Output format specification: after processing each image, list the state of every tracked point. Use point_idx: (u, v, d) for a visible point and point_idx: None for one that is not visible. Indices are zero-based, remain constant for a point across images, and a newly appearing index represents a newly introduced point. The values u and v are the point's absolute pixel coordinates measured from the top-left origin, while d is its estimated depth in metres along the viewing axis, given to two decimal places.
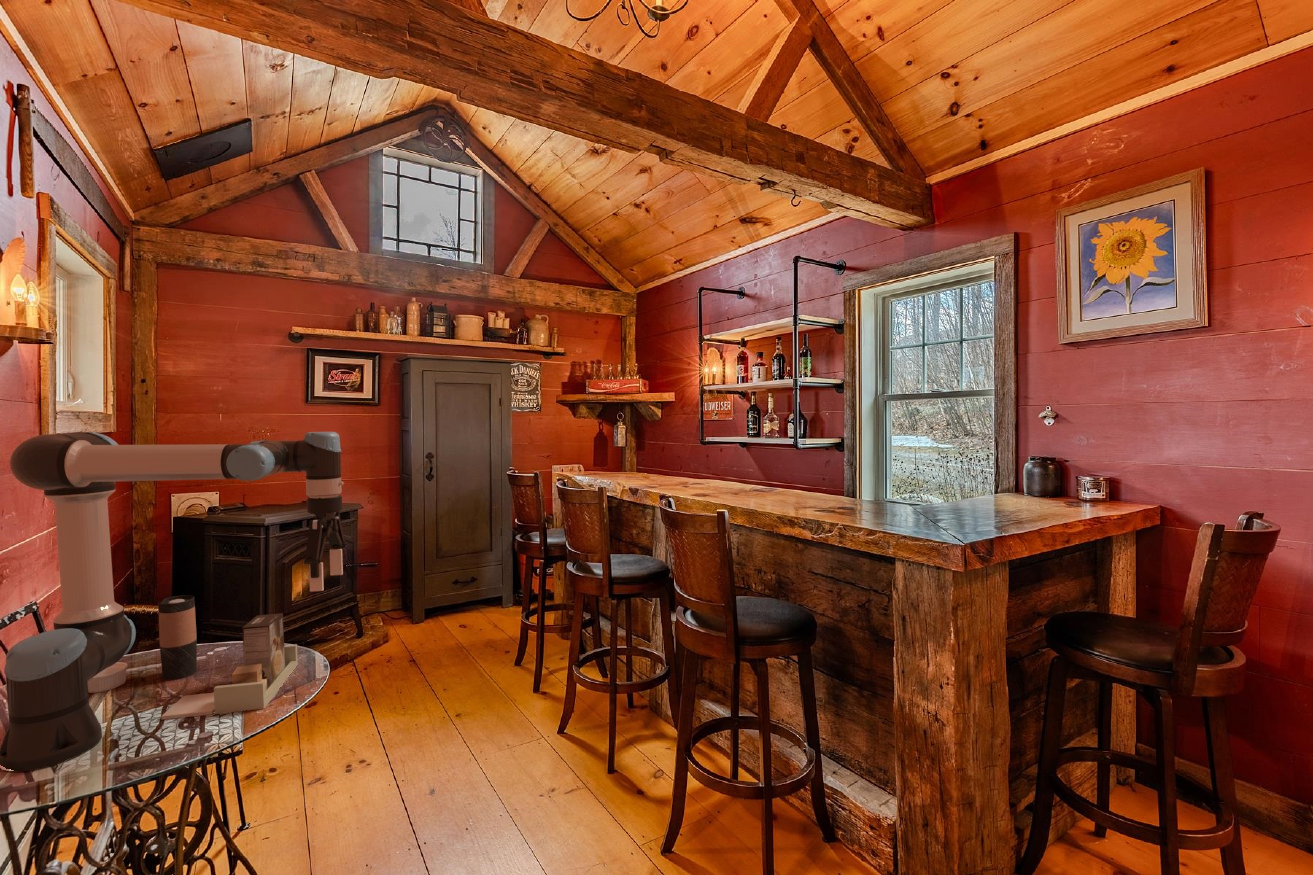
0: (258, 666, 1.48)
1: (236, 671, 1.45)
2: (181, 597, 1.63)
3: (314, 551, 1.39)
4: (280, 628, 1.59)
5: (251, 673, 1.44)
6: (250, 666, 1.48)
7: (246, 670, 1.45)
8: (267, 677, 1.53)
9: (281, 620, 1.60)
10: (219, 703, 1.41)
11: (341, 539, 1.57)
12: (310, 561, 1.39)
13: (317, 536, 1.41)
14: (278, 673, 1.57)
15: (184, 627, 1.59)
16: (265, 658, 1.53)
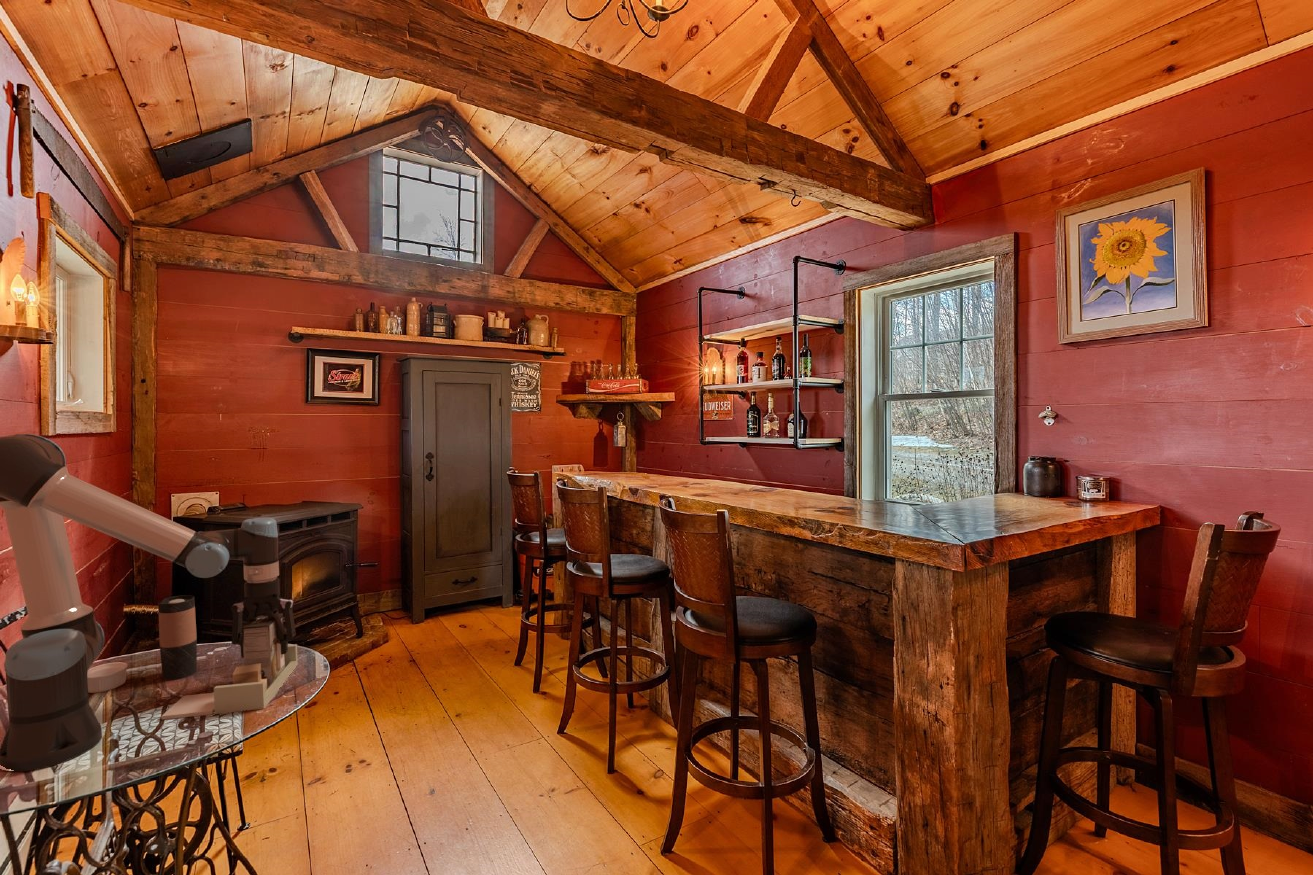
0: (258, 666, 1.48)
1: (236, 671, 1.45)
2: (181, 597, 1.63)
3: None
4: None
5: (252, 673, 1.45)
6: (249, 666, 1.48)
7: (246, 670, 1.45)
8: (267, 677, 1.53)
9: (281, 620, 1.60)
10: (219, 703, 1.41)
11: (287, 632, 1.57)
12: None
13: None
14: (278, 673, 1.57)
15: (184, 627, 1.59)
16: (265, 658, 1.53)
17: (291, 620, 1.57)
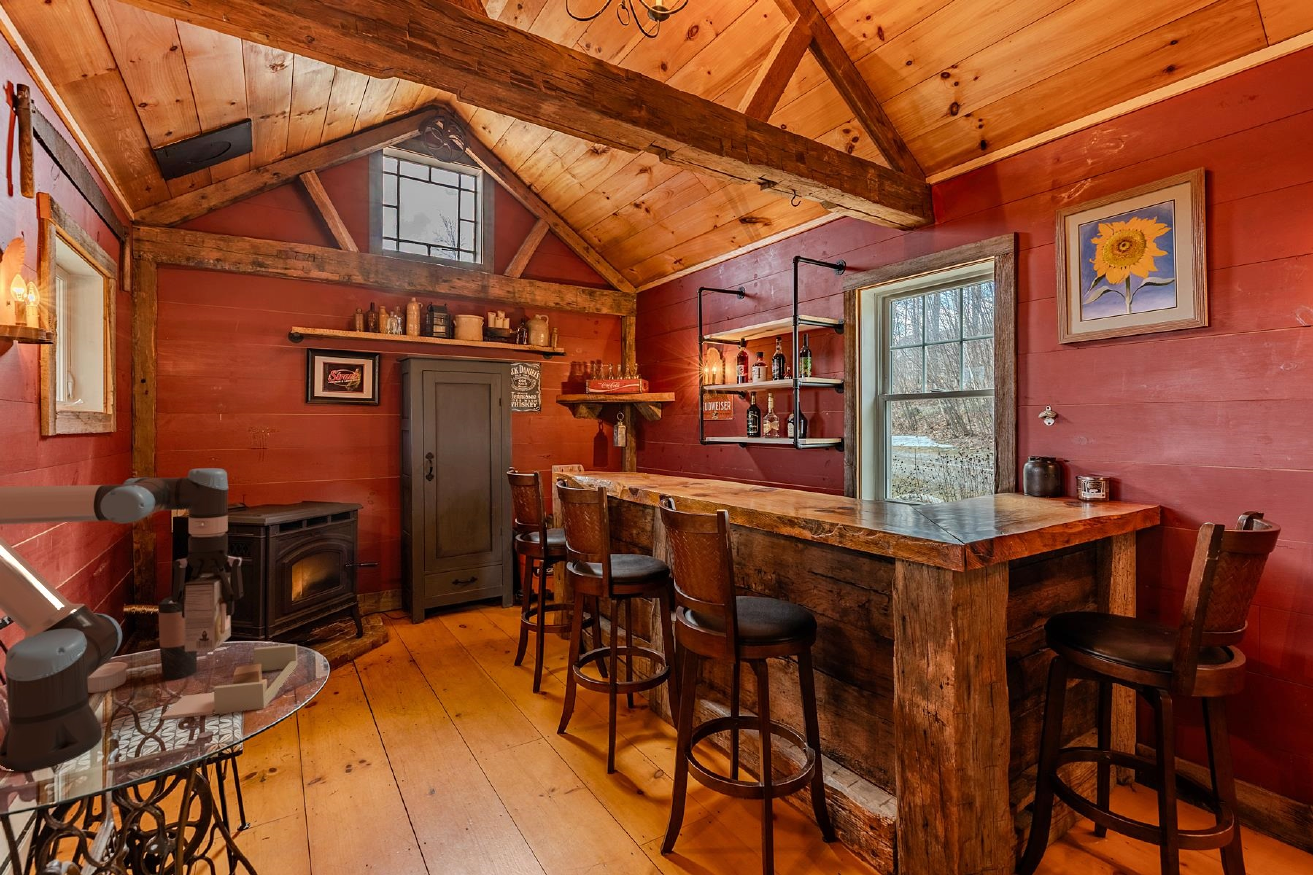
0: (258, 666, 1.48)
1: (237, 671, 1.45)
2: None
3: None
4: None
5: (253, 673, 1.45)
6: (250, 666, 1.48)
7: (247, 670, 1.45)
8: (209, 639, 1.42)
9: (228, 579, 1.49)
10: (219, 703, 1.41)
11: None
12: None
13: None
14: (222, 636, 1.46)
15: (184, 627, 1.59)
16: (208, 617, 1.42)
17: (239, 579, 1.47)
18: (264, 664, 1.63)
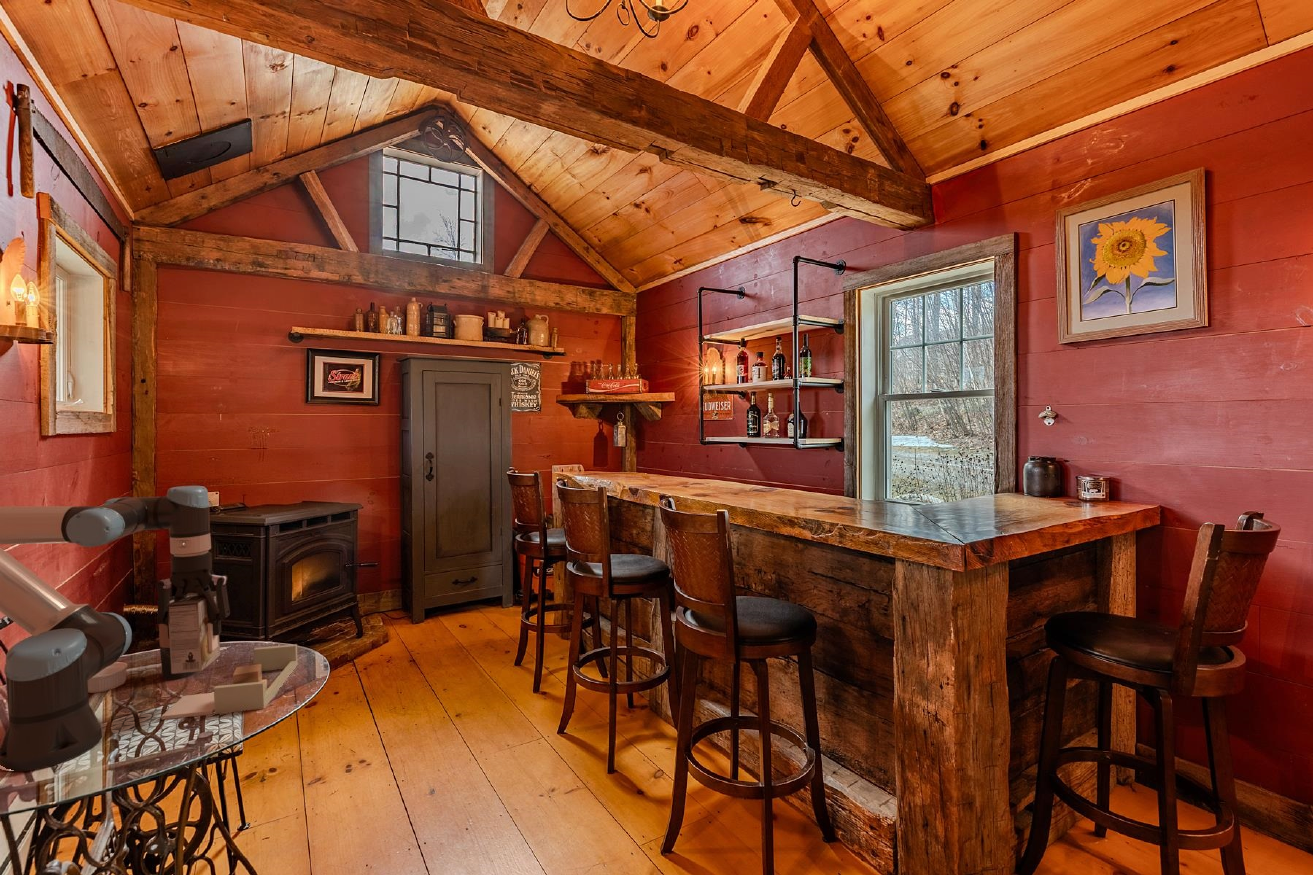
0: (258, 666, 1.48)
1: (236, 671, 1.45)
2: None
3: None
4: None
5: (252, 673, 1.45)
6: (250, 666, 1.47)
7: (247, 670, 1.45)
8: (196, 660, 1.39)
9: (214, 598, 1.46)
10: (219, 703, 1.41)
11: None
12: None
13: None
14: (210, 656, 1.44)
15: None
16: (193, 638, 1.39)
17: (224, 598, 1.44)
18: (264, 664, 1.63)
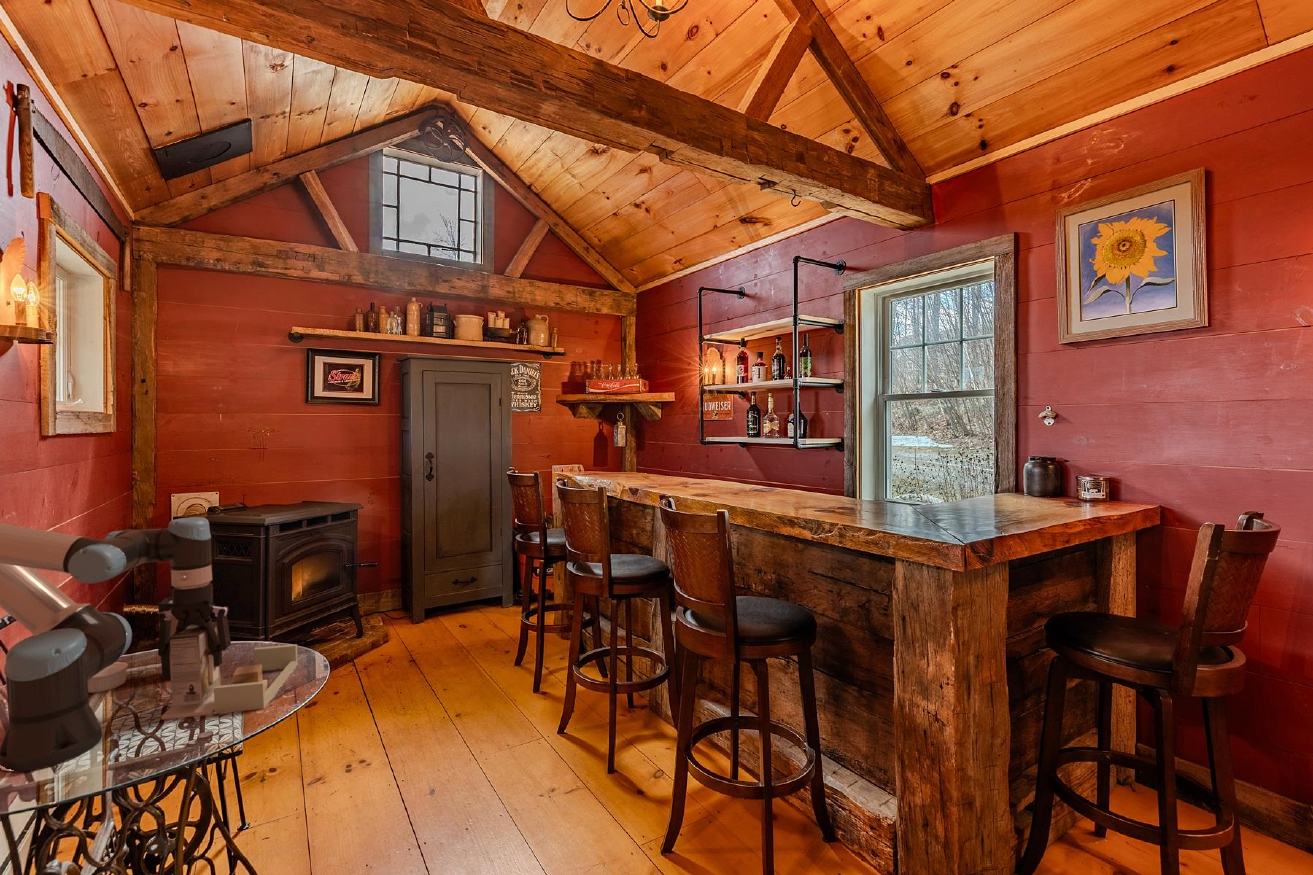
0: (259, 666, 1.48)
1: (237, 671, 1.45)
2: None
3: None
4: None
5: (252, 674, 1.44)
6: (250, 666, 1.48)
7: (247, 671, 1.45)
8: (197, 692, 1.40)
9: (215, 629, 1.47)
10: (219, 703, 1.41)
11: (220, 643, 1.44)
12: None
13: None
14: (211, 687, 1.44)
15: None
16: (194, 671, 1.39)
17: (225, 629, 1.44)
18: (264, 664, 1.63)
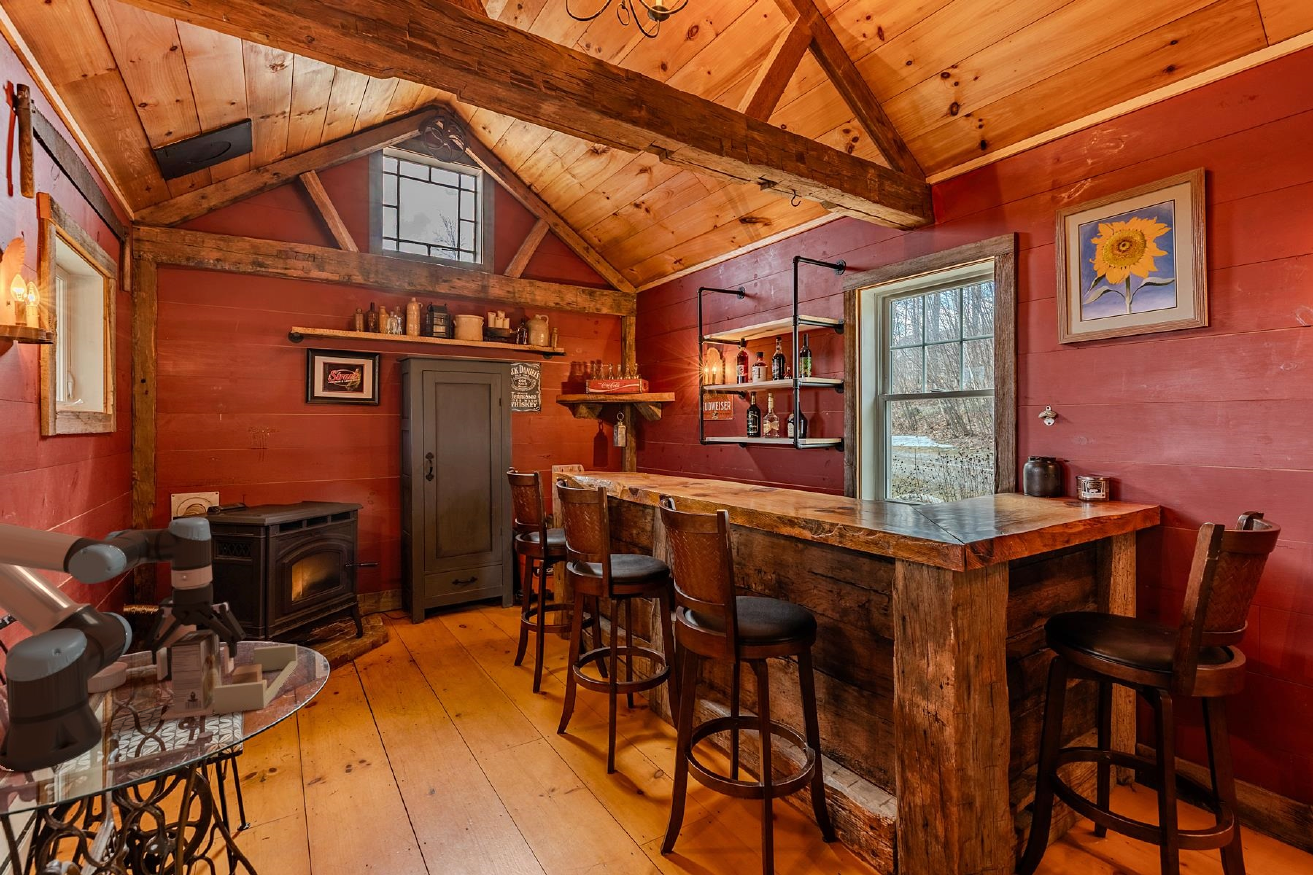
0: (258, 666, 1.48)
1: (236, 671, 1.45)
2: None
3: None
4: (216, 645, 1.46)
5: (251, 673, 1.44)
6: (250, 666, 1.48)
7: (246, 670, 1.45)
8: (198, 699, 1.40)
9: (217, 636, 1.47)
10: (219, 703, 1.41)
11: (234, 635, 1.44)
12: None
13: None
14: (212, 694, 1.44)
15: (184, 627, 1.59)
16: (196, 678, 1.40)
17: (233, 622, 1.44)
18: (264, 664, 1.63)
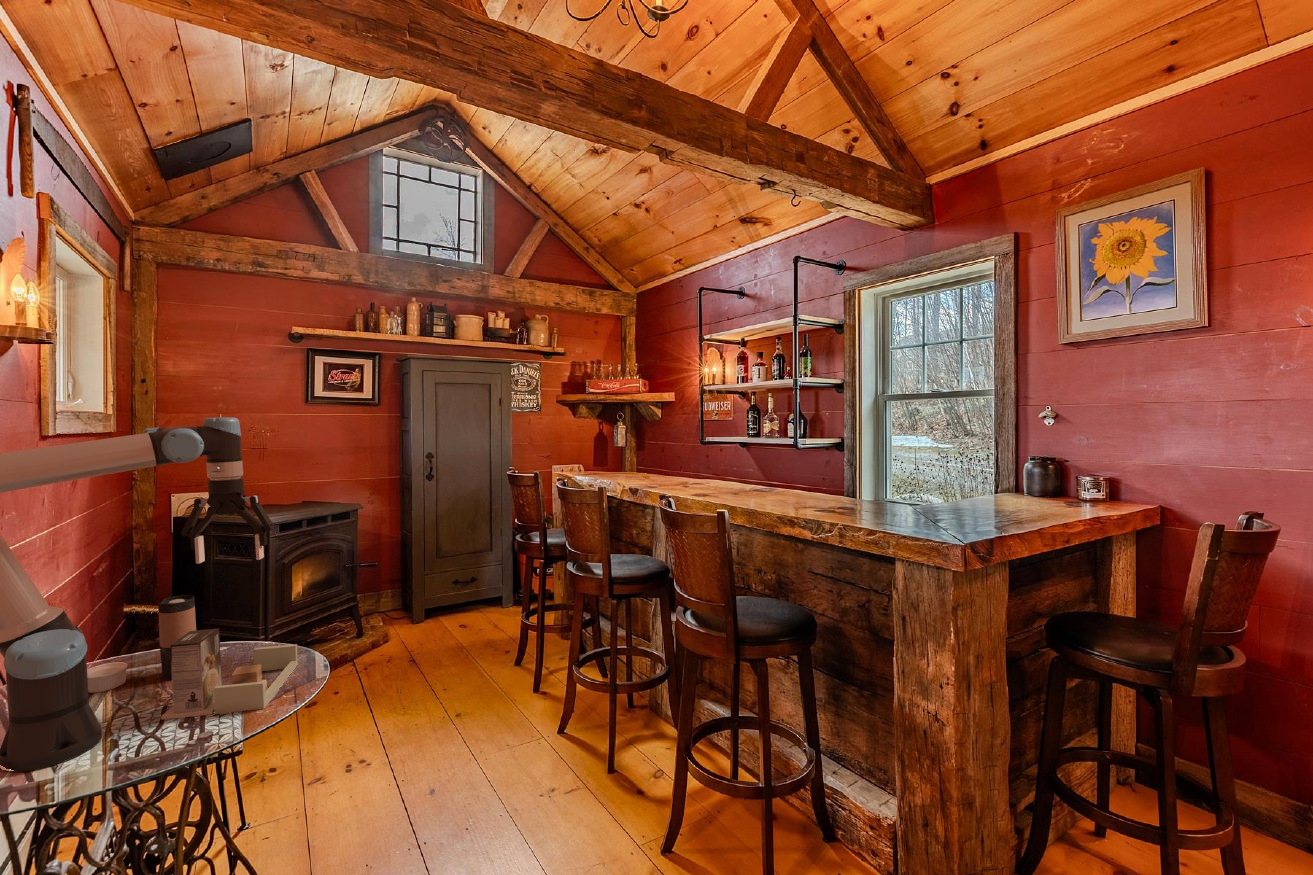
0: (258, 666, 1.47)
1: (236, 671, 1.45)
2: (181, 597, 1.63)
3: None
4: (216, 645, 1.46)
5: (251, 674, 1.44)
6: (250, 666, 1.47)
7: (246, 671, 1.45)
8: (198, 699, 1.40)
9: (217, 636, 1.47)
10: (219, 703, 1.41)
11: (263, 525, 1.57)
12: None
13: None
14: (212, 694, 1.44)
15: (184, 627, 1.59)
16: (196, 678, 1.40)
17: (263, 513, 1.58)
18: (264, 664, 1.63)
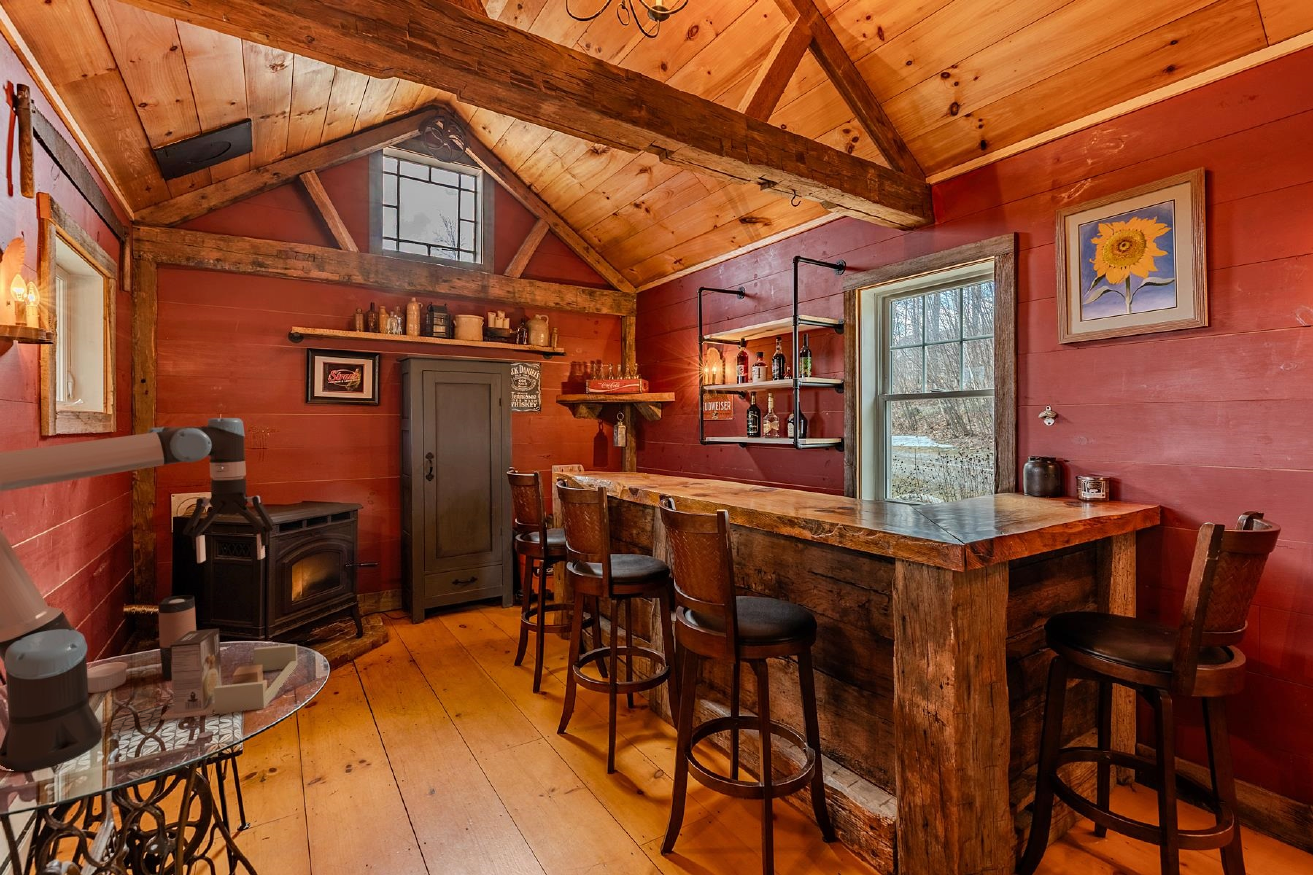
0: (259, 667, 1.47)
1: (237, 671, 1.45)
2: (181, 597, 1.63)
3: None
4: (216, 645, 1.46)
5: (252, 674, 1.44)
6: (251, 666, 1.47)
7: (247, 671, 1.45)
8: (198, 699, 1.40)
9: (217, 636, 1.47)
10: (219, 703, 1.41)
11: (265, 525, 1.59)
12: None
13: None
14: (212, 694, 1.44)
15: (184, 627, 1.59)
16: (196, 678, 1.40)
17: (265, 513, 1.59)
18: (264, 664, 1.63)
